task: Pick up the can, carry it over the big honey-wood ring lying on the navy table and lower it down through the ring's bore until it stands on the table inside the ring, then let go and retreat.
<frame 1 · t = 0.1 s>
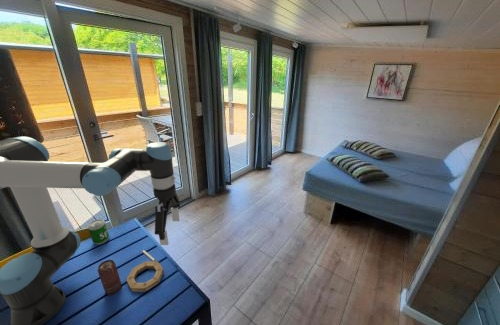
hand: (170, 231, 84), 28 cm above the table, fingers open, 13 cm apart
can: (114, 289, 91), on the table
wooden ring: (145, 276, 96), on the table
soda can: (101, 240, 116), on the table
straight beige square stick: (148, 255, 107), on the table
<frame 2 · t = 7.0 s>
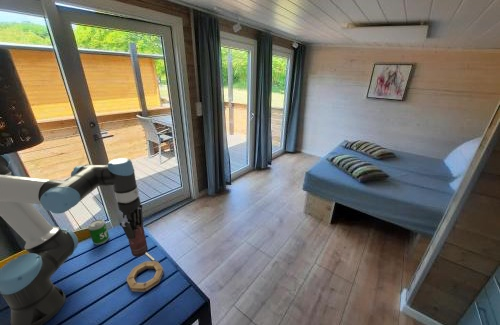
hand: (139, 245, 89), 19 cm above the table, fingers closed
can: (140, 252, 91), point 15 cm above the table, touching hand
everything else where it was.
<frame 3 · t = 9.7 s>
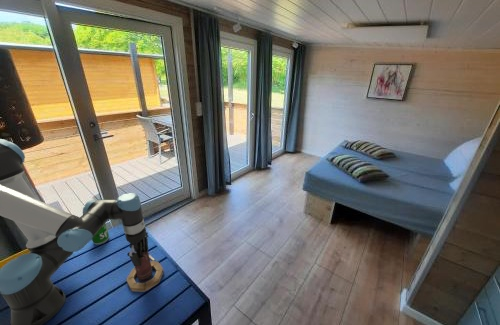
hand: (144, 270, 95), 4 cm above the table, fingers closed
can: (145, 276, 96), resting in wooden ring, touching hand
everything else where it was.
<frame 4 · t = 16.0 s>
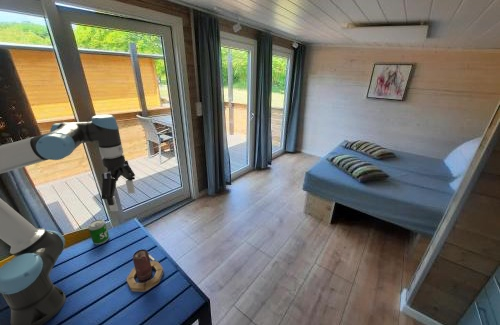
hand: (123, 201, 91), 35 cm above the table, fingers open, 13 cm apart
can: (145, 277, 97), resting in wooden ring
everything else where it was.
at the end: can 0.1 cm off-centre on the wooden ring, point 0.0 cm above the wooden ring's base; can tilted 0°; the gripper is holding nothing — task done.
